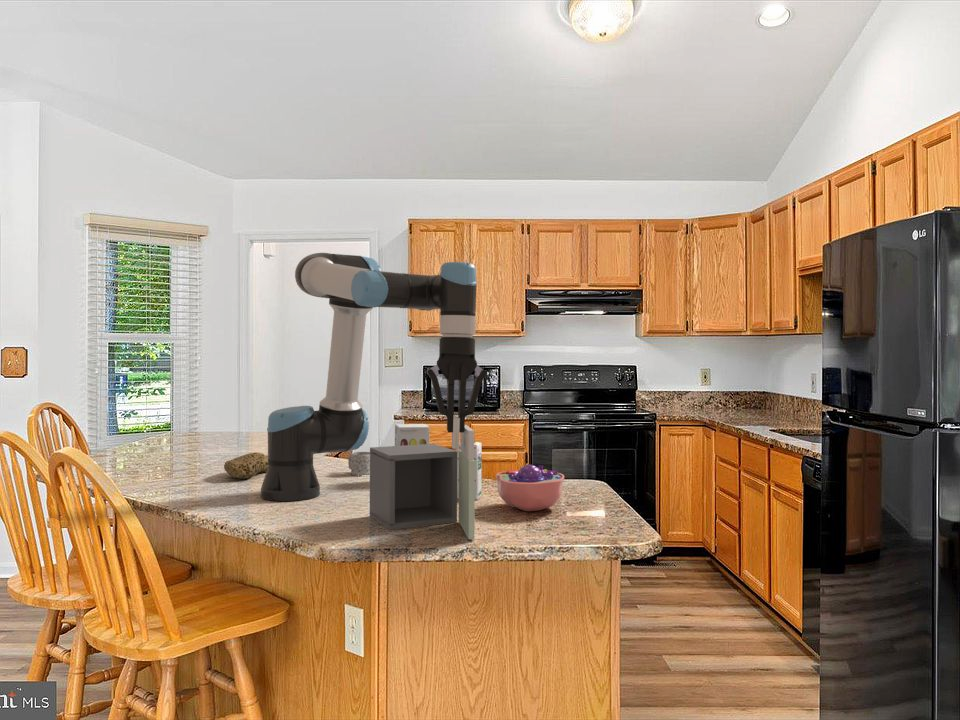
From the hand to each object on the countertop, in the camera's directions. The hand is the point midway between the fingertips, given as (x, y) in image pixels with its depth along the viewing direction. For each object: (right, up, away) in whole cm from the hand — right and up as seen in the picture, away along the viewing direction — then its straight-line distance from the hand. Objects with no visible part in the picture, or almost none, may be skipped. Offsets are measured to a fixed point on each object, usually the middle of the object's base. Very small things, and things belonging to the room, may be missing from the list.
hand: (455, 447), depth 148 cm
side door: (+2, -18, +2) cm, 18 cm away
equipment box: (-10, -18, +13) cm, 24 cm away
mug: (-33, -17, +72) cm, 81 cm away
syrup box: (+2, -18, +37) cm, 41 cm away
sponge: (-66, -17, +67) cm, 95 cm away
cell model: (+18, -18, +24) cm, 35 cm away
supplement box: (-15, -18, +58) cm, 63 cm away
